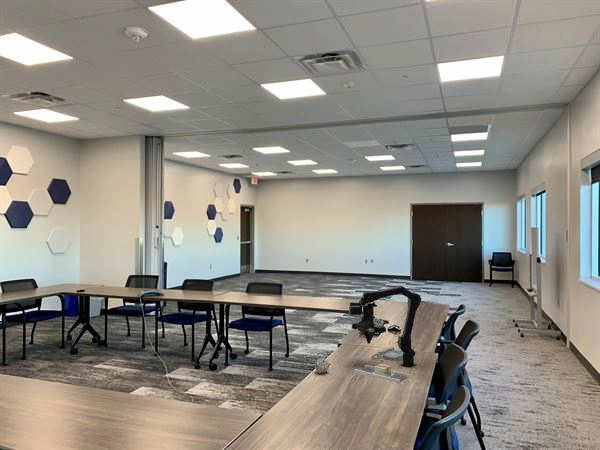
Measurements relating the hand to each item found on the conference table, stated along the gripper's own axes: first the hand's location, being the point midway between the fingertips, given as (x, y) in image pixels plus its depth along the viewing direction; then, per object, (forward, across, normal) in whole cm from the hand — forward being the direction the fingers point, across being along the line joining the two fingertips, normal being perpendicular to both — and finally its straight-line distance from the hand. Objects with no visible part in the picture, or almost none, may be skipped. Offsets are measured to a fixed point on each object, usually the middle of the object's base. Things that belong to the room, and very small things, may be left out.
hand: (368, 343), depth 234 cm
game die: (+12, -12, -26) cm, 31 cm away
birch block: (+12, +14, -10) cm, 21 cm away
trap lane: (+12, +13, -9) cm, 20 cm away
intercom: (+12, +1, +19) cm, 23 cm away
